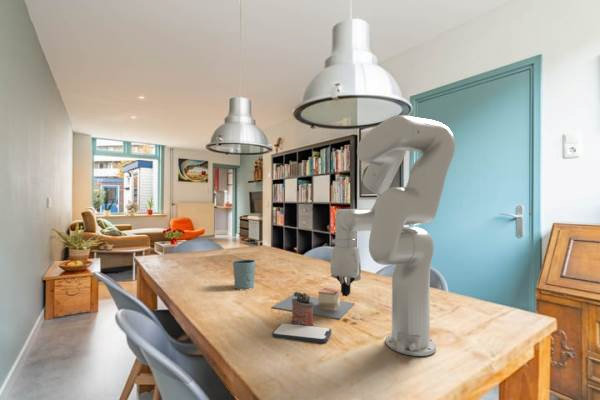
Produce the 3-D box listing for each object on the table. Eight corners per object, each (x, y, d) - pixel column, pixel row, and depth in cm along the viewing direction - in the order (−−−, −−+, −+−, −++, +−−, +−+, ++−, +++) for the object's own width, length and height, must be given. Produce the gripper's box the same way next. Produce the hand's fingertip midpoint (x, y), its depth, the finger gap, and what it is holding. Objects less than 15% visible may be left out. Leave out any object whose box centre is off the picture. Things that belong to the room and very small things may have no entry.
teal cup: (253, 290, 136) (253, 263, 136) (230, 290, 136) (230, 263, 137) (256, 284, 146) (256, 259, 147) (235, 284, 146) (235, 259, 147)
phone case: (270, 339, 88) (326, 346, 83) (270, 333, 88) (325, 339, 83) (281, 327, 96) (332, 333, 92) (281, 322, 96) (332, 327, 92)
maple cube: (334, 310, 109) (334, 293, 109) (318, 308, 111) (318, 291, 112) (339, 306, 114) (339, 289, 114) (324, 303, 117) (324, 287, 117)
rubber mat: (339, 319, 102) (339, 318, 102) (271, 307, 113) (271, 306, 113) (354, 304, 118) (354, 302, 118) (293, 295, 129) (293, 294, 129)
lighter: (315, 327, 95) (315, 294, 95) (308, 330, 92) (308, 297, 93) (296, 320, 100) (296, 289, 101) (289, 323, 98) (289, 291, 98)
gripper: (322, 243, 111) (322, 295, 110) (364, 246, 104) (363, 301, 104) (330, 241, 117) (329, 290, 117) (369, 243, 111) (369, 295, 111)
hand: (345, 295), depth 110 cm, fingers closed
